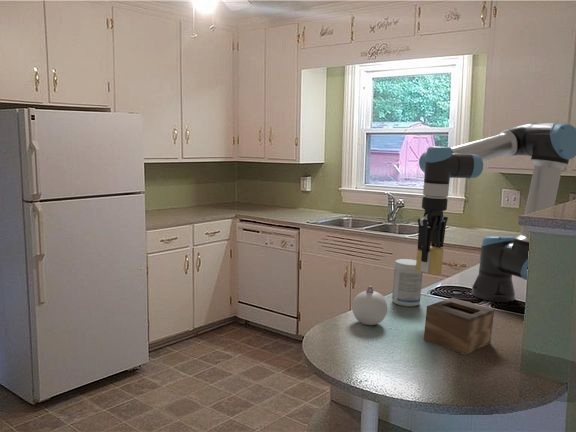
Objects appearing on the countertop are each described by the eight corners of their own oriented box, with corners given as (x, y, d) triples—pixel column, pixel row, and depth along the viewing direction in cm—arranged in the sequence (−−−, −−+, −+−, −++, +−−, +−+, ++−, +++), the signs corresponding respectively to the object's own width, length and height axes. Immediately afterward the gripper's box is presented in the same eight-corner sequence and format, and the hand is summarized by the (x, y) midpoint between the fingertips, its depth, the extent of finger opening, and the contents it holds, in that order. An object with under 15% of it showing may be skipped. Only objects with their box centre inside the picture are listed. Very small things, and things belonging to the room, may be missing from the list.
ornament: (360, 331, 157) (363, 291, 155) (346, 319, 166) (348, 281, 164) (391, 328, 160) (395, 290, 158) (375, 317, 170) (378, 280, 168)
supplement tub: (425, 305, 185) (429, 263, 183) (405, 309, 180) (409, 266, 178) (405, 297, 193) (408, 257, 191) (385, 300, 188) (389, 259, 186)
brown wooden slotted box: (449, 329, 162) (452, 297, 161) (490, 343, 153) (494, 309, 151) (423, 339, 153) (426, 305, 151) (465, 355, 143) (469, 319, 142)
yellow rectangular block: (421, 268, 173) (424, 244, 171) (441, 273, 167) (443, 248, 166) (415, 270, 170) (417, 245, 169) (434, 275, 165) (437, 249, 164)
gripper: (438, 194, 173) (432, 264, 177) (409, 196, 162) (403, 271, 166) (460, 197, 168) (452, 269, 172) (431, 199, 157) (424, 277, 160)
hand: (428, 270), depth 169 cm, fingers closed on yellow rectangular block, 3 cm apart
